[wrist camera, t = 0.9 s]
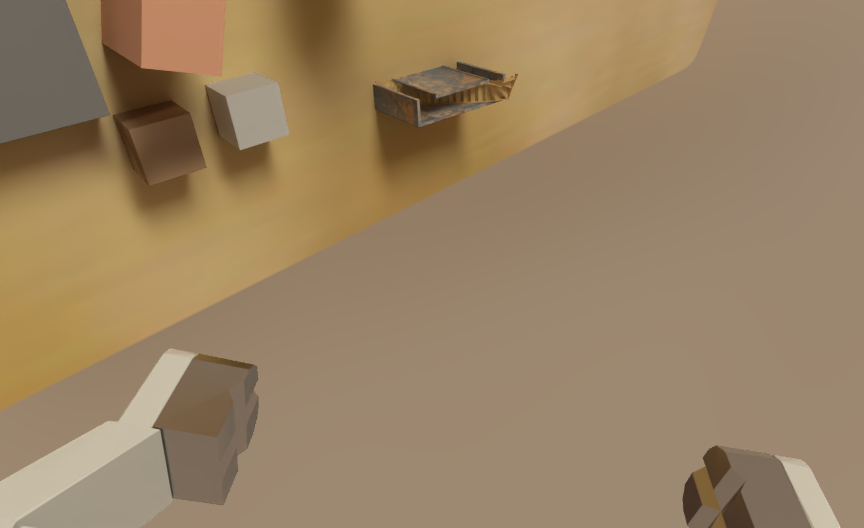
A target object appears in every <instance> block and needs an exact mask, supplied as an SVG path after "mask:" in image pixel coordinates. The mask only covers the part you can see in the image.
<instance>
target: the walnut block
mask: <svg viewBox="0 0 864 528" xmlns="http://www.w3.org/2000/svg"><path fill="white" fill-rule="evenodd" d="M113 117H114V119H115V122H116V124H117V127H118V130H119V132H120V135H121V137H122V140H123V143H124V145H125V148H126V150H127V153H128V156H129V158H130V161H131V163H132V166H133V168H134V170H135V171H136V172H137V173H138V174H139V175H140V176H141V177H142V178H143V179H144V180H145V181H146V183H147V184H148V185H149V186H151V185H154V184H158V183H161V182H164V181H167V180H170V179H173V178H176V177H179V176H182V175H185V174H188V173H191V172H194V171H197V170H201V169H204V168H207V167H206V164H205V161H204V158H203V154H202V151H201V148H200V145H199V141H198V138H197V135H196V132H195V128H194V125H193V122H192V119H191V115H190V113H189V112H187V111H186V110H184V109H183V108H181V107H180V106H179V105H177V104H176V103H174V102H173V101H171V100H170V101H166V102H163V103H159V104H155V105H151V106H147V107H143V108H140V109H136V110H132V111H128V112H124V113H120V114H117V115H113Z"/></svg>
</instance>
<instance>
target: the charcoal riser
mask: <svg viewBox="0 0 864 528" xmlns="http://www.w3.org/2000/svg"><path fill="white" fill-rule="evenodd" d="M108 115H110V113H109V111H108V108H107V106H106V103H105V101H104V98H103V95H102V93H101V90H100V88H99V85H98V83H97V80H96V77H95V75H94V72H93V70H92V67H91V65H90V62H89V59H88V57H87V54H86V52H85V49H84V47H83V44H82V41H81V39H80V36H79V34H78V31H77V29H76V26H75V23H74V21H73V18H72V16H71V13H70V11H69V8H68V5H67V3H66V0H0V144H1V143H4V142H8V141H12V140H16V139H20V138H24V137H27V136H31V135H35V134H39V133H43V132H47V131H50V130H54V129H58V128H62V127H66V126H70V125H74V124H77V123H81V122H85V121H89V120H93V119H97V118H100V117H104V116H108Z"/></svg>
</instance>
